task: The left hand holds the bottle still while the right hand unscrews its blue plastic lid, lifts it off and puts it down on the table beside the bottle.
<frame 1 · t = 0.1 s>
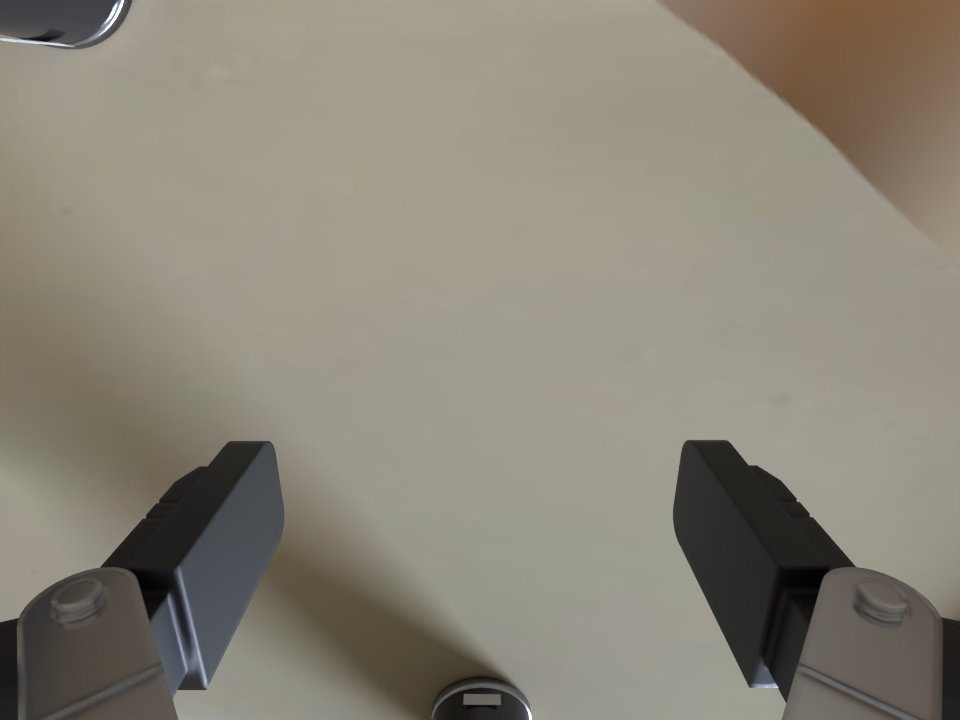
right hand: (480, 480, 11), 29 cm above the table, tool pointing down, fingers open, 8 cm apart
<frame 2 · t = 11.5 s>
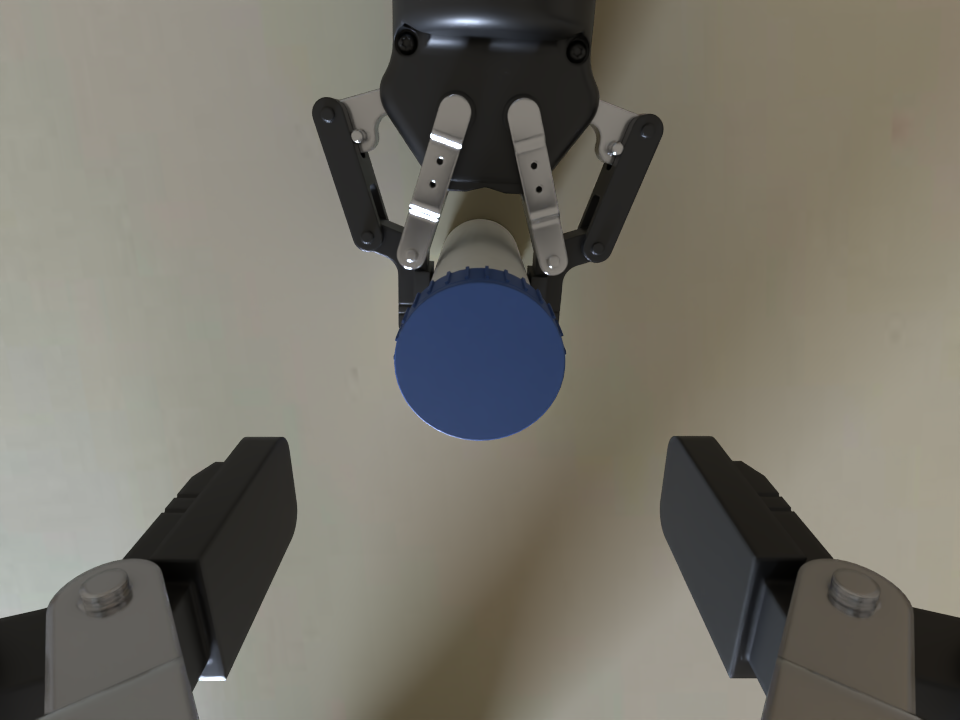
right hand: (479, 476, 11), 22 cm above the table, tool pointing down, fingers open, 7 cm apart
left hand: (478, 346, 27), fingers closed on bottle, 4 cm apart
bottle: (480, 258, 32), on the table, touching left hand
lid: (479, 361, 17), point 15 cm above the table, screwed on, not yet turned
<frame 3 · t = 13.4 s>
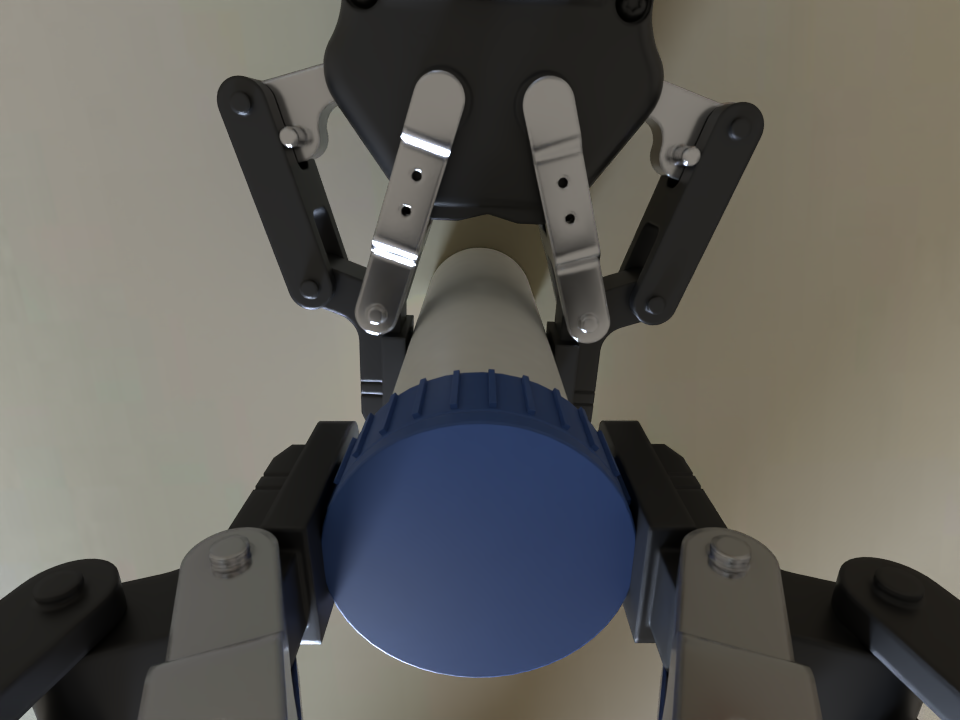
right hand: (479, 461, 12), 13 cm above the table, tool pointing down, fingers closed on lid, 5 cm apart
left hand: (476, 435, 19), fingers closed on bottle, 4 cm apart
bottle: (479, 299, 24), on the table, touching left hand
lid: (478, 548, 10), point 15 cm above the table, screwed on, not yet turned, touching right hand
when the right hand's fingers open (13 cm above the table, at t = 14.8 s): lid stays where it is, point 16 cm above the table.
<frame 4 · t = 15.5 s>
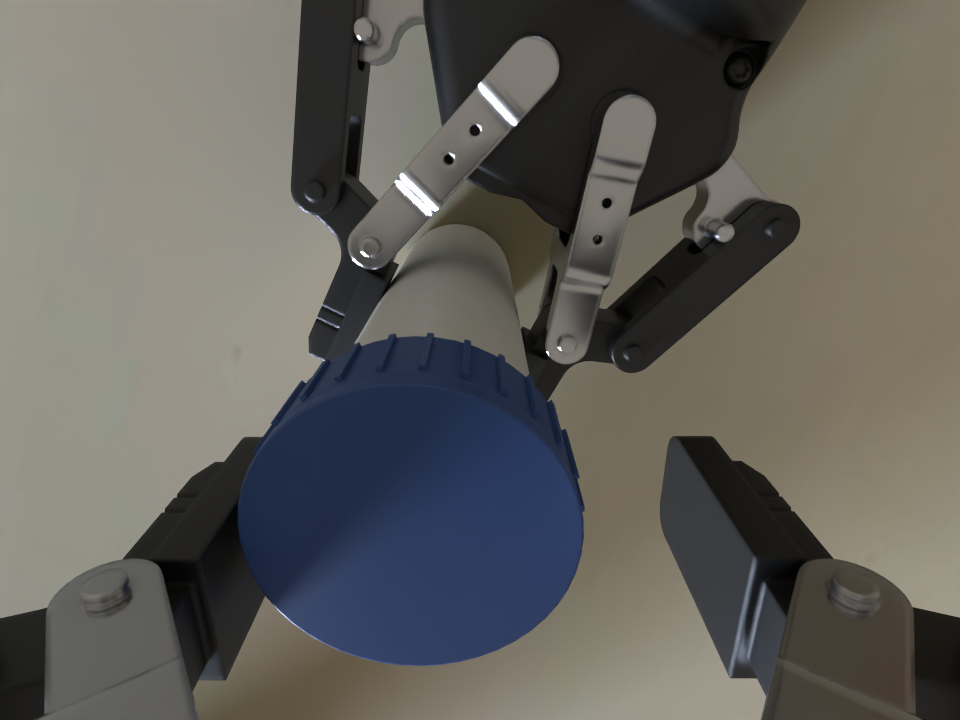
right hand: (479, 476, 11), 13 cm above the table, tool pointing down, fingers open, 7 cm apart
bottle: (456, 277, 23), on the table, touching left hand
lid: (413, 525, 9), point 16 cm above the table, turned 65° so far, risen 0.2 cm, still on its thread
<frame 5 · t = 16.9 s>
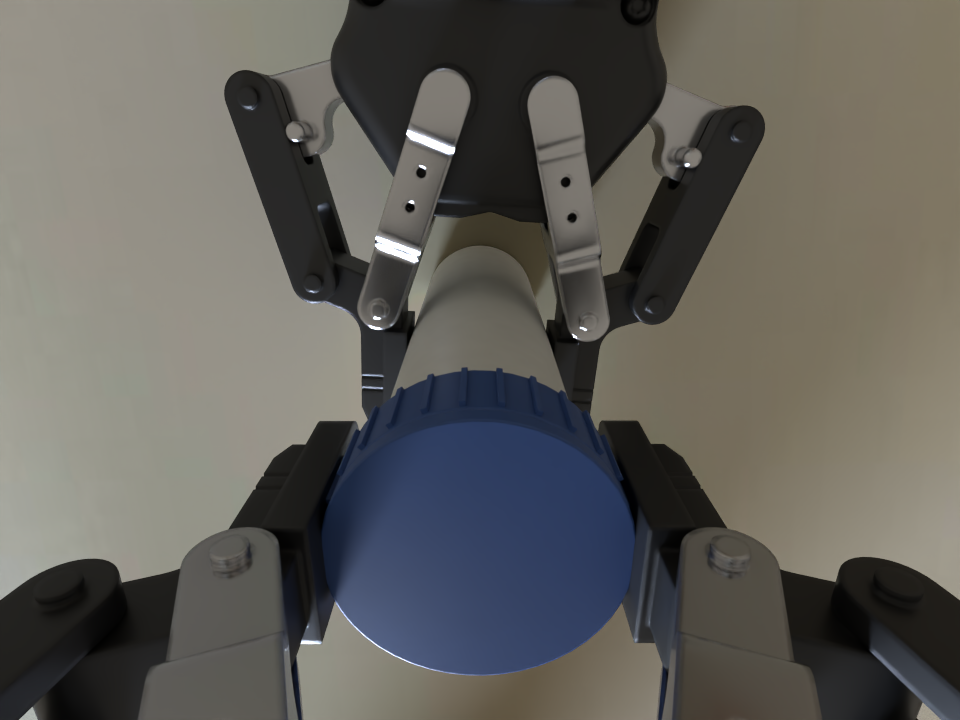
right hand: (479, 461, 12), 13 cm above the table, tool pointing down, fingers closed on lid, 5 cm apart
left hand: (475, 431, 19), fingers closed on bottle, 4 cm apart
bottle: (479, 296, 24), on the table, touching left hand
lid: (478, 546, 10), point 16 cm above the table, turned 64° so far, risen 0.2 cm, still on its thread, touching right hand
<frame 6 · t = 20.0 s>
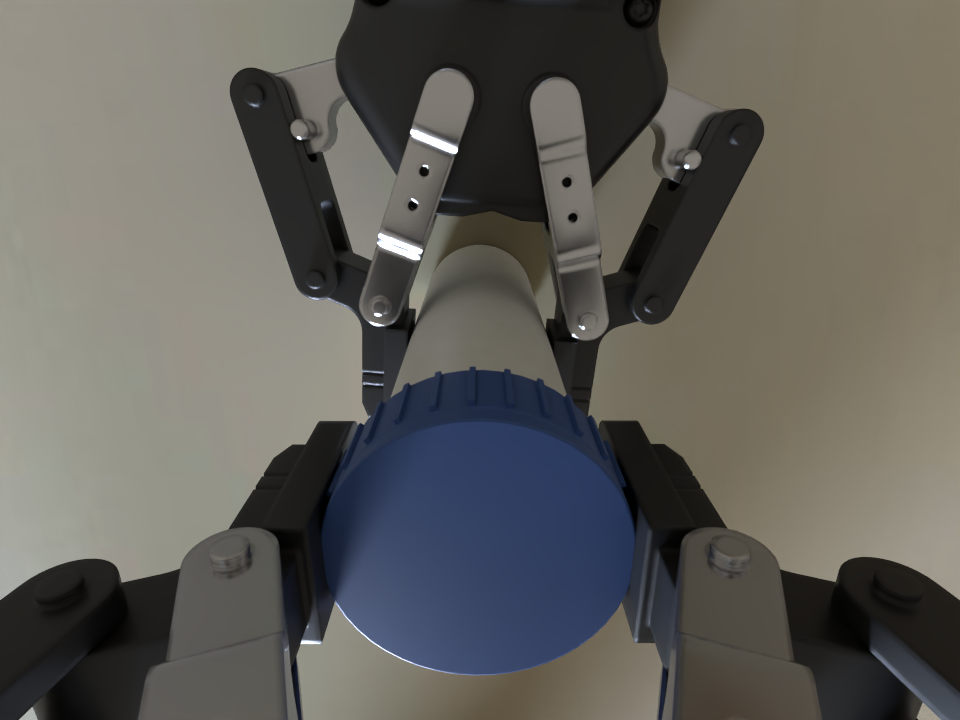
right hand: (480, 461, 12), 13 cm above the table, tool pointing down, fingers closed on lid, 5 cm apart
left hand: (474, 428, 19), fingers closed on bottle, 4 cm apart
bottle: (479, 295, 24), on the table, touching left hand
lid: (478, 545, 10), point 16 cm above the table, turned 129° so far, risen 0.3 cm, still on its thread, touching right hand
when the right hand's fingers open (0 cm above the table, at t = 26.9 s): lid drops 2 cm, point 2 cm above the table.
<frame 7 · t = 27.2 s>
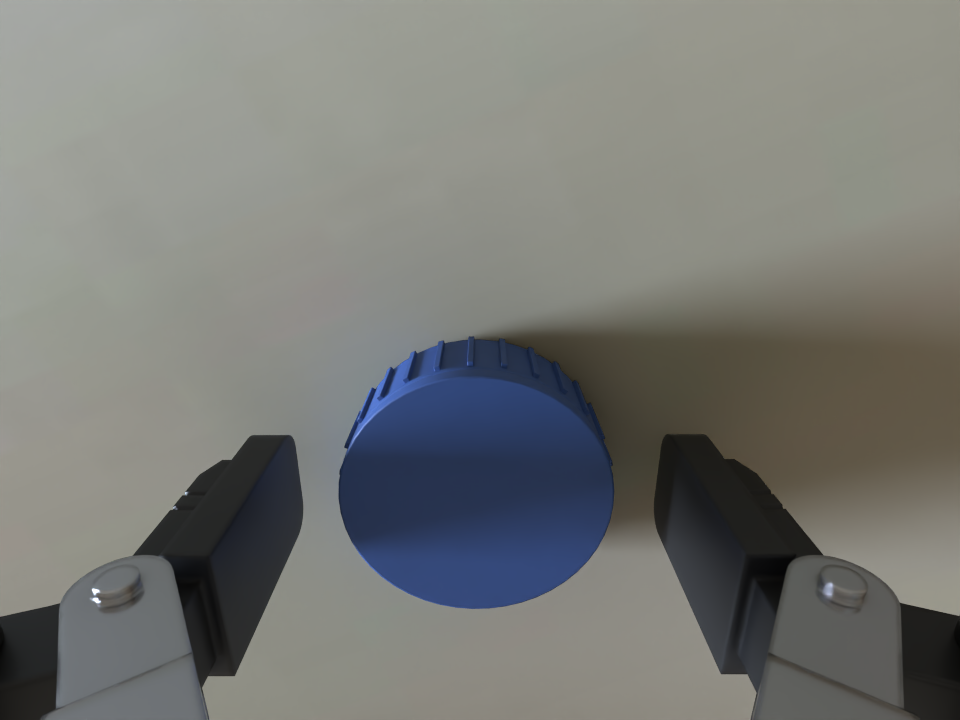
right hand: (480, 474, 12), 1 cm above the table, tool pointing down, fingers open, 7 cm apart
lid: (476, 492, 11), point 2 cm above the table, off its thread
when the left hand's fingers open (7 cm above the table, at t = 28.0 s): bottle stays where it is, on the table.
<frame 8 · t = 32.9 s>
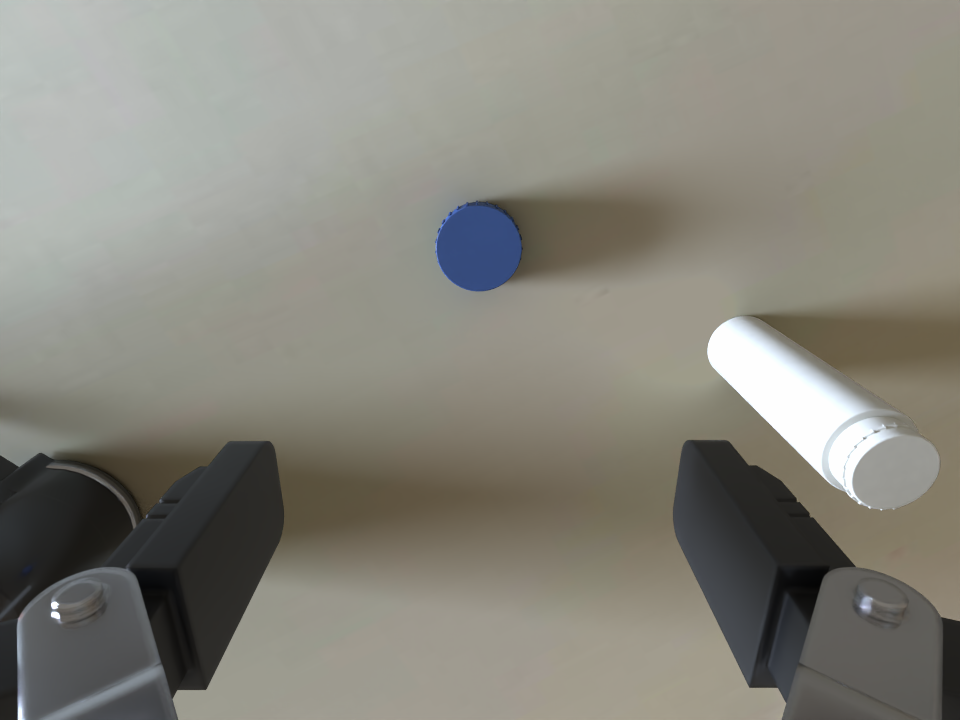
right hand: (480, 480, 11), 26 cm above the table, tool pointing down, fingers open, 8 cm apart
bottle: (739, 346, 38), on the table
lid: (478, 248, 34), point 2 cm above the table, off its thread
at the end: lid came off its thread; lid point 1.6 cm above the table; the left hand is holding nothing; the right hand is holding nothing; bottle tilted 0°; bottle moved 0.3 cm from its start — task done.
